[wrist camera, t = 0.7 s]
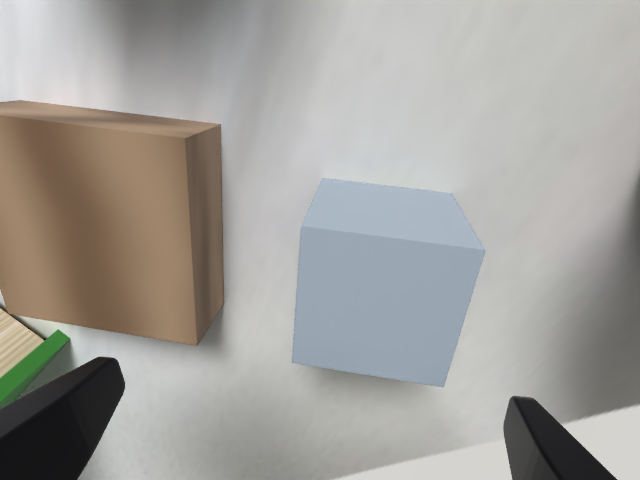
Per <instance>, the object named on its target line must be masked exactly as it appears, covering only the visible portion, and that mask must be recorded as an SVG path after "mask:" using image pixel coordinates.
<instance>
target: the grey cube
mask: <svg viewBox="0 0 640 480" xmlns="http://www.w3.org/2000/svg"><path fill="white" fill-rule="evenodd" d="M484 253H485V248H484V247H483V245H482V243H481V241H480V240H479V238H478V236H477V235H476V233H475V231H474V230H473V228H472V226H471V225H470V223H469V221H468V220H467V218H466V216H465V215H464V213H463V211H462V209H461V208H460V206H459V204H458V203H457V201H456V199H455V198H454V196H453V194H452V193H445V192H436V191H428V190H420V189H411V188H403V187H394V186H386V185H378V184H369V183H361V182H352V181H344V180H336V179H327V178H323V179H322V181H321V183H320V186H319V188H318V190H317V192H316V194H315V197H314V199H313V201H312V203H311V205H310V208H309V210H308V212H307V214H306V216H305V218H304V221H303V223H302V225H301V235H300V250H299V264H298V279H297V294H296V308H295V323H294V338H293V353H292V363H295V364H301V365H307V366H313V367H320V368H326V369H332V370H338V371H345V372H351V373H357V374H363V375H369V376H376V377H382V378H388V379H394V380H401V381H407V382H413V383H419V384H426V385H432V386H438V387H444V385H445V382H446V378H447V375H448V372H449V368H450V365H451V362H452V359H453V355H454V352H455V349H456V345H457V342H458V339H459V336H460V332H461V329H462V326H463V322H464V319H465V316H466V312H467V309H468V306H469V303H470V299H471V296H472V293H473V289H474V286H475V283H476V279H477V276H478V273H479V270H480V266H481V263H482V260H483V256H484Z"/></svg>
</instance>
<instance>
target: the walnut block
mask: <svg viewBox="0 0 640 480" xmlns="http://www.w3.org/2000/svg"><path fill="white" fill-rule="evenodd" d="M0 289H1V292H2V295H3V299H4V302H5V305H6V308H7V311H8V314H13V315H19V316H25V317H30V318H36V319H42V320H48V321H54V322H60V323H66V324H72V325H78V326H84V327H89V328H95V329H101V330H107V331H113V332H119V333H125V334H131V335H137V336H143V337H148V338H154V339H160V340H166V341H172V342H178V343H184V344H190V345H196V346H197V345H198V343H199V342H200V340H201V339H202V337H203V336H204V334H205V332H206V331H207V329H208V328H209V326H210V325H211V323H212V321H213V320H214V318H215V317H216V315H217V314H218V312H219V310H220V309H221V307H222V306H223V304H224V277H223V222H222V166H221V124H213V123H205V122H197V121H189V120H180V119H172V118H164V117H155V116H147V115H139V114H130V113H122V112H114V111H105V110H97V109H89V108H80V107H72V106H64V105H56V104H47V103H39V102H31V101H22V100H18V101H8V102H0Z"/></svg>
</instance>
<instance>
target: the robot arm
mask: <svg viewBox="0 0 640 480" xmlns="http://www.w3.org/2000/svg"><path fill="white" fill-rule="evenodd" d="M124 390H125V381H124V378H123V375H122V372H121V369H120V366H119V363H118V361H117V360H116V359H115V358H110V357H97V358H95V359H93V360H91V361H89V362H87V363H86V364H84V365H82V366H80V367H78V368H76V369H74V370H72V371H70V372H69V373H67V374H65V375H63V376H61V377H59V378H57V379H55V380H53V381H52V382H50V383H48V384H46V385H44V386H42V387H40V388H38V389H37V390H35V391H33V392H31V393H29V394H27V395H25V396H23V397H21V398H20V399H18V400H16V401H14V402H12V403H10V404H8V405H6V406H4V407H3V408H1V409H0V480H77V479H78V478H79V476H80V474H81V473H82V471H83V470H84V468H85V466H86V465H87V463H88V461H89V460H90V458H91V456H92V454H93V452H94V451H95V449H96V447H97V445H98V443H99V441H100V439H101V437H102V435H103V433H104V431H105V429H106V427H107V425H108V423H109V421H110V419H111V417H112V415H113V413H114V411H115V409H116V407H117V405H118V403H119V401H120V399H121V397H122V395H123V393H124ZM504 438H505V443H506V448H507V453H508V458H509V464H510V469H511V474H512V479H513V480H617V479H616V478H615V477H614V476H613V475H612V474H611V473H610V472H609V471H608V470H607V469H606V468H605V467H604V466H603V465H602V464H601V463H599V461H597V460H596V459H595V458H594V457H593V456H592V455H591V454H590V453H589V452H588V451H587V450H586V449H585V448H584V447H583V446H582V445H581V444H580V443H579V442H578V441H577V440H576V439H575V438H574V437H573V436H572V435H571V434H570V433H569V432H568V431H567V430H566V429H565V428H564V427H563V426H562V425H561V424H560V423H559V422H558V421H557V420H556V419H555V418H554V417H553V416H551V415H550V414H549V413H548V412H547V411H546V410H545V409H544V408H543V407H542V406H541V405H540V404H539V403H538V402H537V401H536V400H535V399H533V398H530V397H520V396H513V397H511V398H510V401H509V404H508V408H507V412H506V416H505V420H504Z"/></svg>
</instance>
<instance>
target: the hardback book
mask: <svg viewBox="0 0 640 480" xmlns="http://www.w3.org/2000/svg"><path fill="white" fill-rule="evenodd" d="M69 339H70V338H69V337H67V336H66V335H65V334H63V333H62V332H61V331H59V330H57V331H56V332H55V333H53V334H52V335H51V336H50V337H49V338H47V339H46V340H45V341H44V340H43V339H42V338H40V337H39V336H37V335H36V334H35V333H33V332H32V331H31V330H29V329H28V328H27V327H25V326H24V325H22V324H21V323H20V322H18V321H17V320H16V319H14V318H13V317H11V316H10V315H9V314H7V313H6V312H5V311H3V310H2V309H0V409H1V408H3V407H4V406H6V405H8V404H10V403H12V402H14V401H15V400H16V399H17V398H18V397H19V395H20V394H21V393H22V392H23V391H24V390H25V389H26V388H27V386H28V385H29V384H30V383H31V382H32V381H33V380H34V379H35V377H36V376H37V375H38V374H39V373H40V372H41V371H42V370H43V369H44V367H45V366H46V365H47V364H48V363H49V362H50V361H51V360H52V358H53V357H54V356H55V355H56V354H57V353H58V352H59V351H60V349H61V348H62V347H63V346H64V345H65V344H66V343H67V342H68V340H69Z"/></svg>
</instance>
